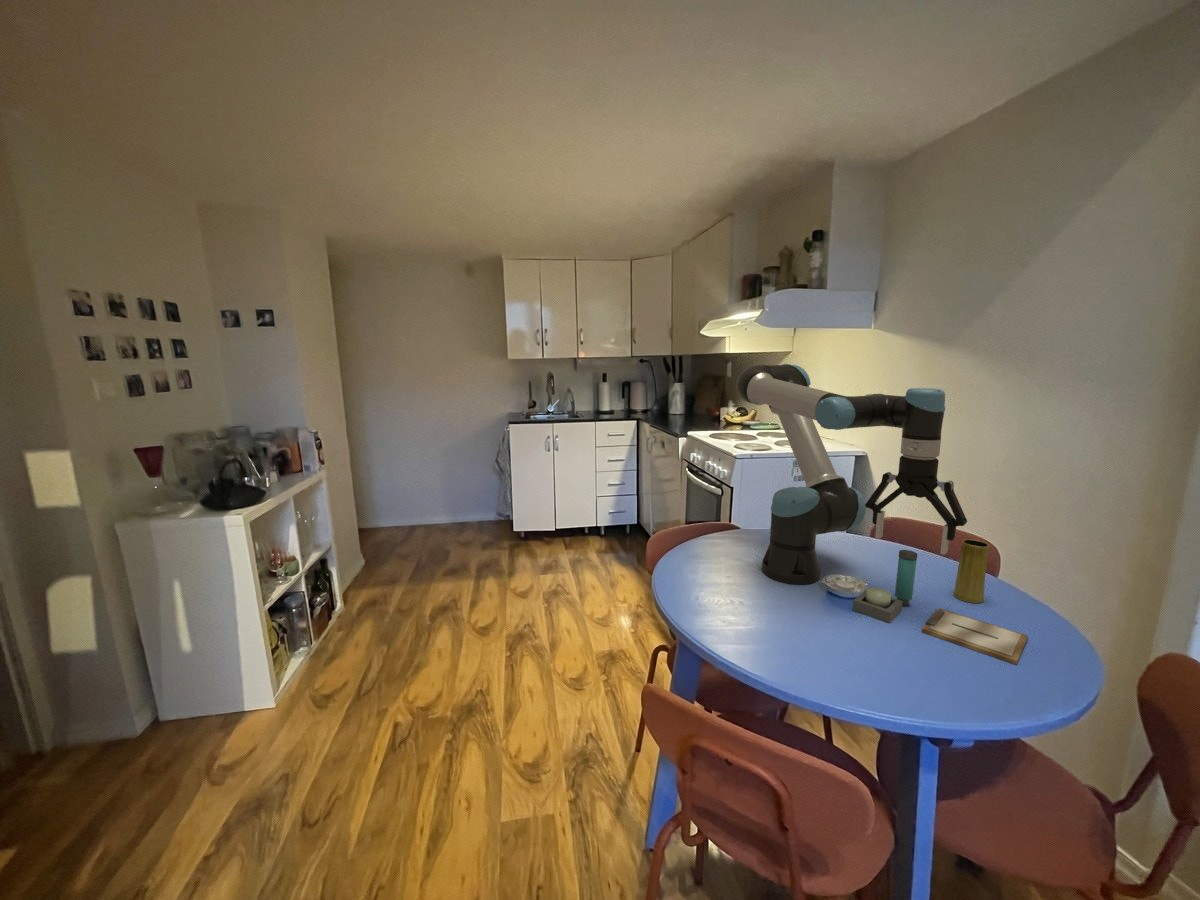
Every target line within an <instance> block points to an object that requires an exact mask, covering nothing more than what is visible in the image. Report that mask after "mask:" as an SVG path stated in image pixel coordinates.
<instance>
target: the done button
mask: <svg viewBox="0 0 1200 900" xmlns="http://www.w3.org/2000/svg"><path fill="white" fill-rule="evenodd" d="M866 590H867V593H866V602H867V603H870V604H873V605H876V606H879V607H882V608H885V609H887V608H888V607H889V606H890V601H891V597H892V594H891V592H890V591H888V590H887V589H884V588H880V587H873V586H872V587H868V588H866Z"/></svg>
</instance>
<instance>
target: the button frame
mask: <svg viewBox="0 0 1200 900" xmlns="http://www.w3.org/2000/svg"><path fill="white" fill-rule="evenodd" d="M866 593H867V589H865V590H864V591H863V592H862V593H860V594H858V596H856V597H855V599H853V600H852V602H853V603H852V611H854V612H857V613H859V614H863V615H866V616H868V617H871V618H874V619H877V620H880V621H882V622H885V623H889V624H890V623H891V622H892V621H893V620H894V619H895V618H896V617H897V616H898V615H899V614H900V613H901V612H902V611H903V606H902V603H903V601H901V600H898V599H897V598H896V597H895V598H894V597H892V596H891V601H890V606H889V607H888V608H886V609H885V608H882V607H879V606H876V605H873V604H870V603H867V602H866Z"/></svg>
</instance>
